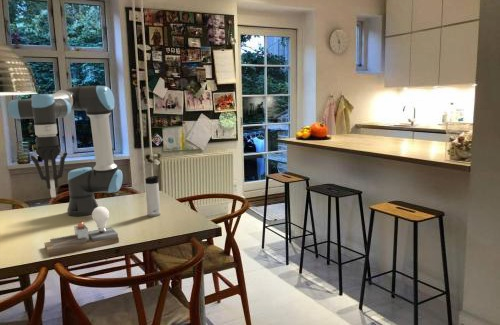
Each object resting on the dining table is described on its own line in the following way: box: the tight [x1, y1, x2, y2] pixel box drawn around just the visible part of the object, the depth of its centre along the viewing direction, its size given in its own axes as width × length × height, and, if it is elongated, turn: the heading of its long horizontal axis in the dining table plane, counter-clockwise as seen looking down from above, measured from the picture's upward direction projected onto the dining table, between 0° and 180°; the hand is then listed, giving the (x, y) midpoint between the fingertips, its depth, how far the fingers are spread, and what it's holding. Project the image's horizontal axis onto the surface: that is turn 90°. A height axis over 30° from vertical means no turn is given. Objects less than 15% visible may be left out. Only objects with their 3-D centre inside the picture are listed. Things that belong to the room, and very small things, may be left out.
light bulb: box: [91, 205, 110, 232], centre depth 169 cm, size 7×7×11 cm
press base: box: [44, 227, 120, 258], centre depth 166 cm, size 12×26×4 cm, turn 124°
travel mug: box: [145, 175, 161, 218], centre depth 205 cm, size 6×7×20 cm
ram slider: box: [73, 221, 89, 241], centre depth 165 cm, size 6×4×7 cm, turn 34°
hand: (53, 196), depth 158 cm, fingers closed
